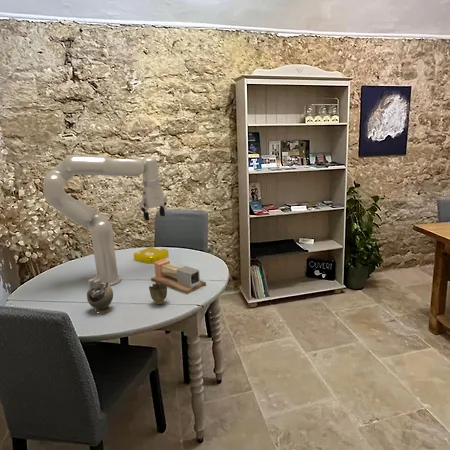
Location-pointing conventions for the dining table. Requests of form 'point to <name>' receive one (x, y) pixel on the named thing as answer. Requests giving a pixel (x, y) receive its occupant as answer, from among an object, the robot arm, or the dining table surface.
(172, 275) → the tube
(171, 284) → the walnut board
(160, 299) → the cup
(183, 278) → the metal sleeve
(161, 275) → the terracotta socket
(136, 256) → the element tile
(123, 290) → the dining table surface
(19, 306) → the dining table surface
